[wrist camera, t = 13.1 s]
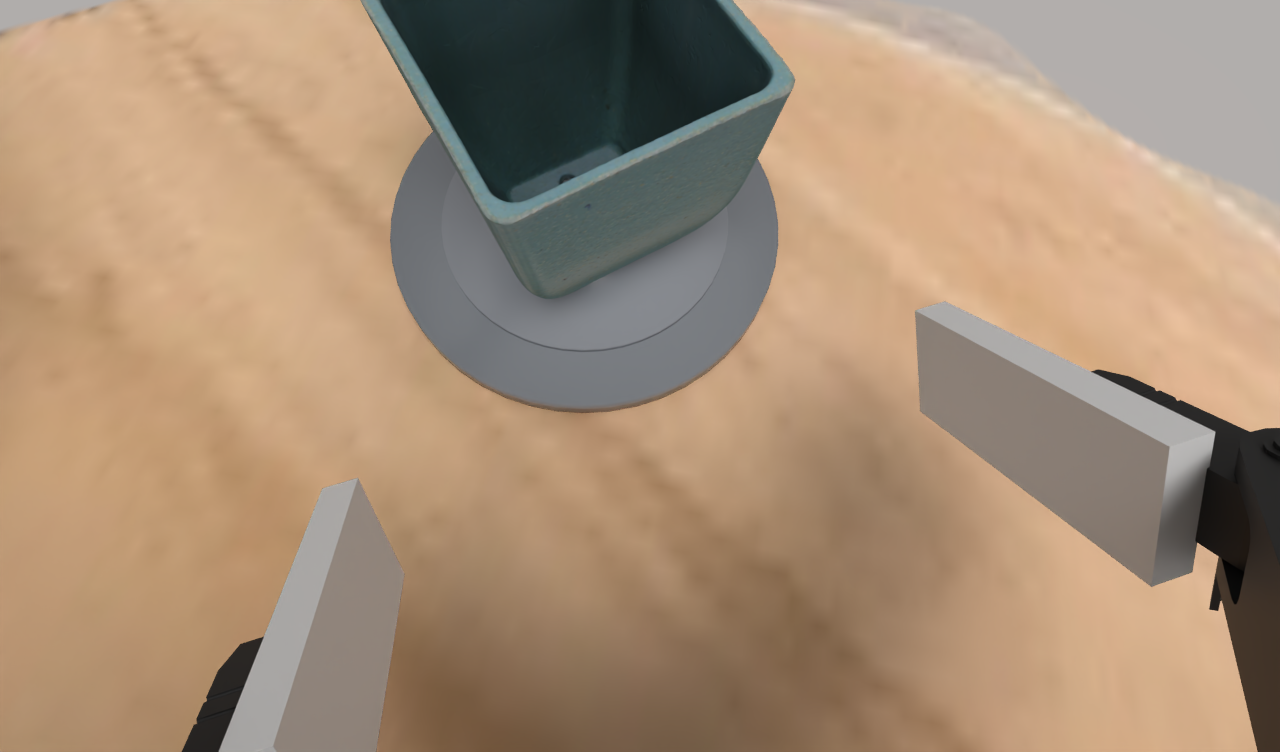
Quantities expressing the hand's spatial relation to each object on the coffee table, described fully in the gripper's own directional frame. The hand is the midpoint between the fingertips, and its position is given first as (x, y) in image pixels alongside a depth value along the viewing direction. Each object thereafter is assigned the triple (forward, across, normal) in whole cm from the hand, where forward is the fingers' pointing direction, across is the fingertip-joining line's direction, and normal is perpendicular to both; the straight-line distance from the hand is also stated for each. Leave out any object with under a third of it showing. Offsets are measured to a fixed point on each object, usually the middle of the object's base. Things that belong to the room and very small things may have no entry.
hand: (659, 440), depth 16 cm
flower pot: (+13, +1, +2) cm, 13 cm away
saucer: (+14, +1, +2) cm, 14 cm away
